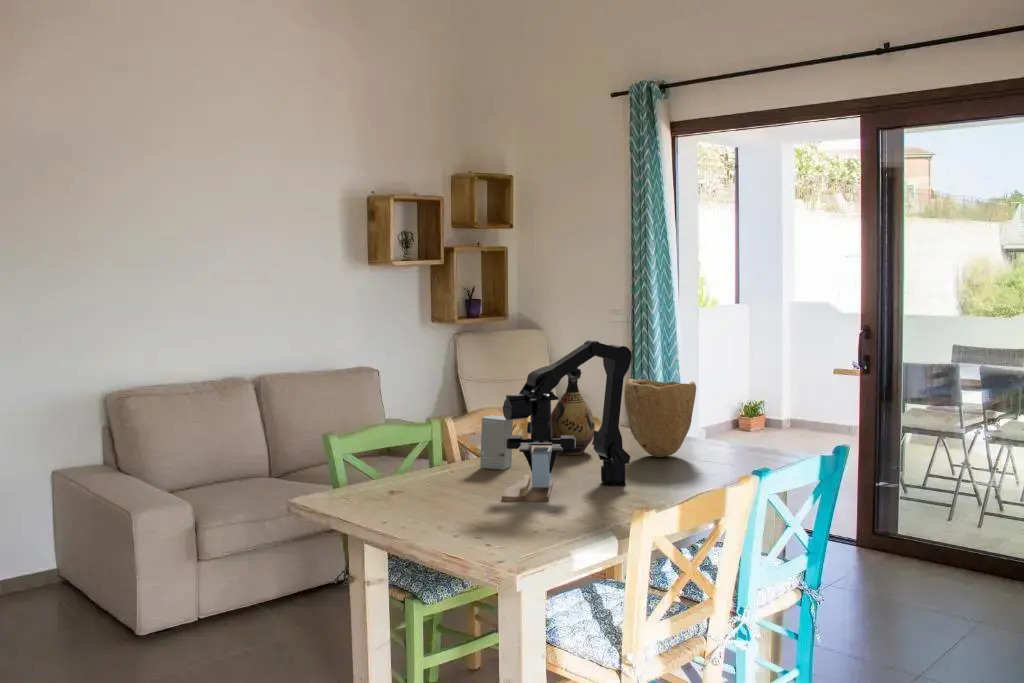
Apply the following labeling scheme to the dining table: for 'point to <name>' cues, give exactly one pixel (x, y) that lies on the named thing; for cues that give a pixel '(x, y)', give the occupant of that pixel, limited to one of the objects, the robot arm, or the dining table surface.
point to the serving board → (526, 491)
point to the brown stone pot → (659, 414)
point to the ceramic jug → (573, 417)
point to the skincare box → (495, 442)
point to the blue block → (541, 467)
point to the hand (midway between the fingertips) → (541, 472)
